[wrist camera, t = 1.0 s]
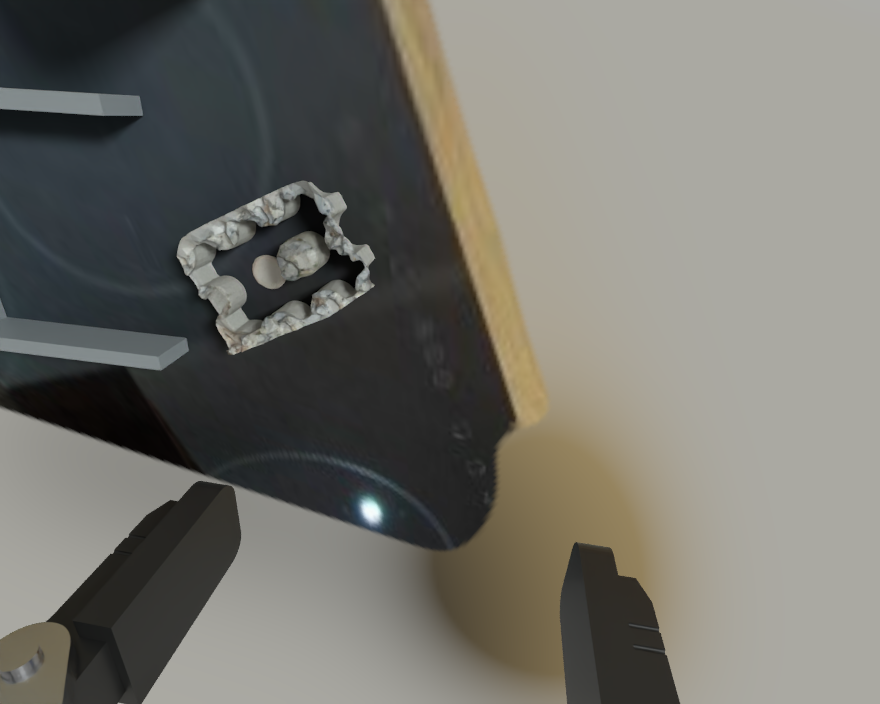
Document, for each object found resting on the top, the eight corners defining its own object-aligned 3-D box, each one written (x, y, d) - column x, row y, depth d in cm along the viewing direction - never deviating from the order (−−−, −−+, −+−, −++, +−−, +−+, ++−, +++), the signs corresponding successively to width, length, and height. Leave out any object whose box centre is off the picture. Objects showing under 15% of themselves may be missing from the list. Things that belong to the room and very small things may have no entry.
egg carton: (255, 336, 34) (223, 363, 30) (193, 234, 31) (150, 249, 27) (391, 283, 30) (373, 306, 27) (335, 165, 28) (307, 172, 24)
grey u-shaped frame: (-94, 81, 29) (-156, 78, 26) (139, 96, 27) (98, 93, 25) (-1, 328, 36) (-43, 345, 33) (188, 350, 34) (161, 370, 32)
